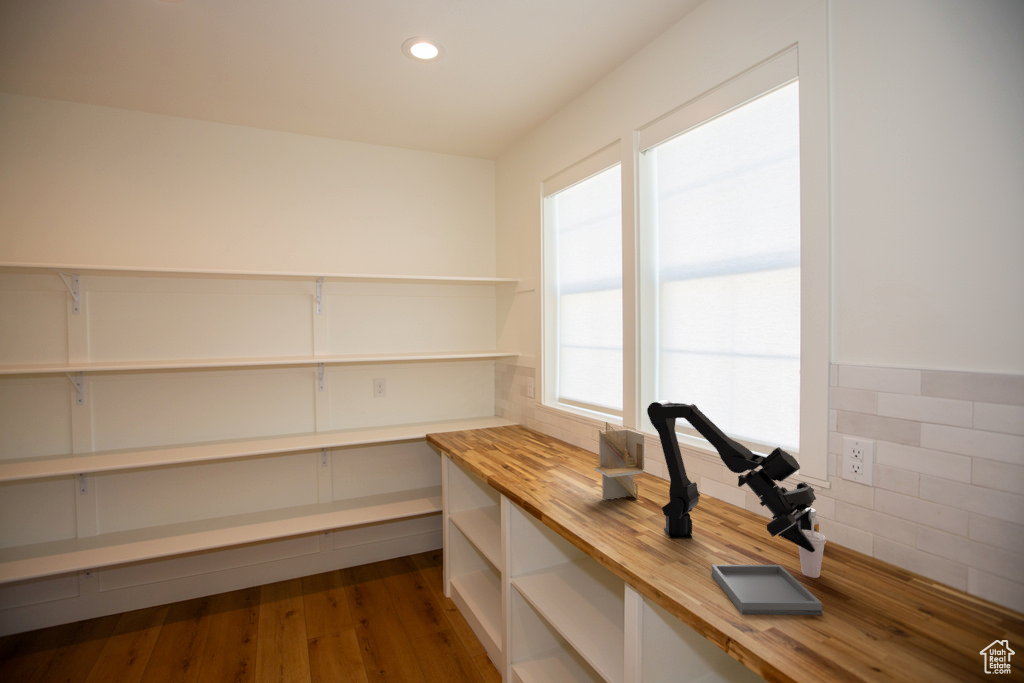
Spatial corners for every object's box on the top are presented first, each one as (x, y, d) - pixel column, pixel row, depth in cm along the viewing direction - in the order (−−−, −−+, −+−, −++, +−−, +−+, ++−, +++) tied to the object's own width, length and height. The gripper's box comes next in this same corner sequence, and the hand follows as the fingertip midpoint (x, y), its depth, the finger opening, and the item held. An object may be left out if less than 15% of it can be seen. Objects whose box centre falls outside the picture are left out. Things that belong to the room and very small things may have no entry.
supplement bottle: (801, 547, 133) (801, 512, 133) (792, 539, 138) (792, 505, 138) (822, 548, 132) (822, 513, 132) (813, 540, 137) (813, 506, 137)
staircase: (650, 505, 167) (649, 421, 166) (609, 512, 161) (609, 425, 160) (633, 496, 176) (632, 417, 176) (594, 502, 170) (593, 420, 170)
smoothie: (811, 582, 114) (811, 523, 114) (789, 569, 121) (789, 513, 120) (832, 578, 116) (833, 520, 116) (809, 565, 122) (809, 511, 122)
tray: (741, 614, 102) (741, 602, 102) (711, 574, 118) (711, 564, 118) (822, 614, 101) (822, 603, 101) (780, 575, 118) (780, 564, 118)
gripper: (781, 482, 114) (836, 542, 107) (803, 466, 127) (853, 519, 120) (746, 507, 120) (796, 566, 112) (770, 489, 133) (816, 541, 125)
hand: (817, 546), depth 117 cm, fingers closed on smoothie, 6 cm apart
